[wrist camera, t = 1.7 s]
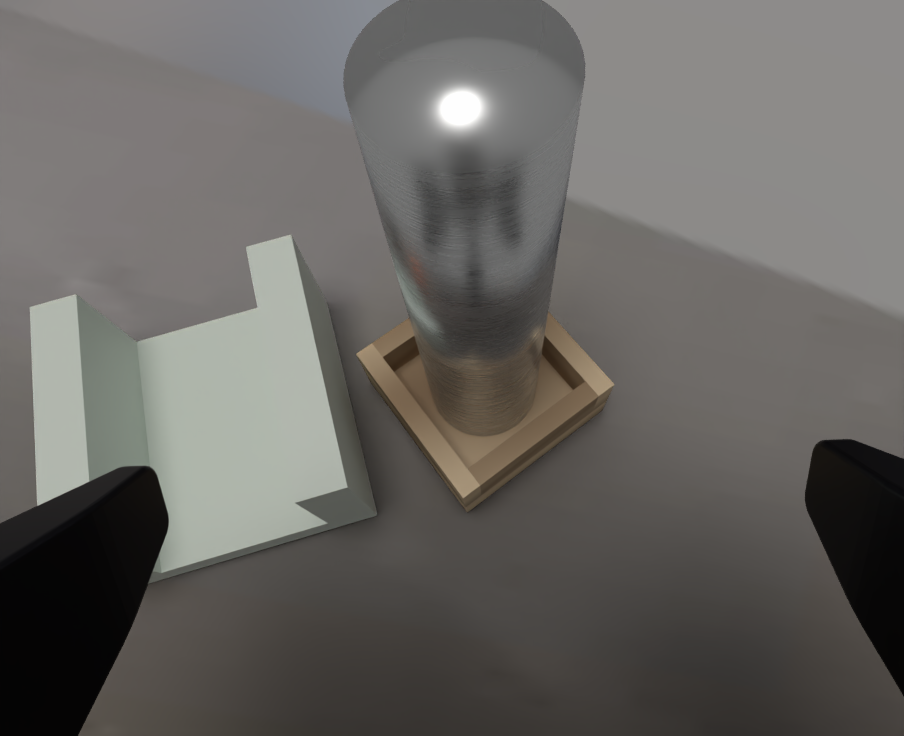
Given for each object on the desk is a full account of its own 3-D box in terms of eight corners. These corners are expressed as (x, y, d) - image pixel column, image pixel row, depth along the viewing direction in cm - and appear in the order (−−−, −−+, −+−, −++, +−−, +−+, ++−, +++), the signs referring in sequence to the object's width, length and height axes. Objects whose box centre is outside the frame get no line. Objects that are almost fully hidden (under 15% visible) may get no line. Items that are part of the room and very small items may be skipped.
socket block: (602, 410, 22) (614, 384, 19) (467, 512, 21) (463, 498, 18) (498, 293, 24) (498, 256, 21) (370, 382, 23) (356, 353, 20)
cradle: (377, 515, 21) (347, 487, 17) (133, 588, 21) (40, 578, 16) (327, 303, 24) (291, 234, 20) (113, 363, 24) (29, 307, 19)
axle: (557, 395, 21) (636, 79, 9) (473, 457, 20) (435, 211, 8) (492, 319, 22) (485, -51, 10) (411, 377, 22) (298, 57, 9)
